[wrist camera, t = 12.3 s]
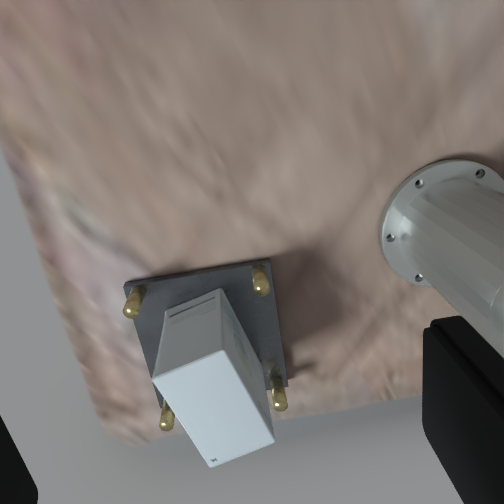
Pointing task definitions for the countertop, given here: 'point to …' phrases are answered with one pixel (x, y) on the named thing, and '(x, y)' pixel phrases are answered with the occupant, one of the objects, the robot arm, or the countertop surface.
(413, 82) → the countertop surface
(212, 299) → the skincare box
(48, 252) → the countertop surface
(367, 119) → the countertop surface
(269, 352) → the chassis
